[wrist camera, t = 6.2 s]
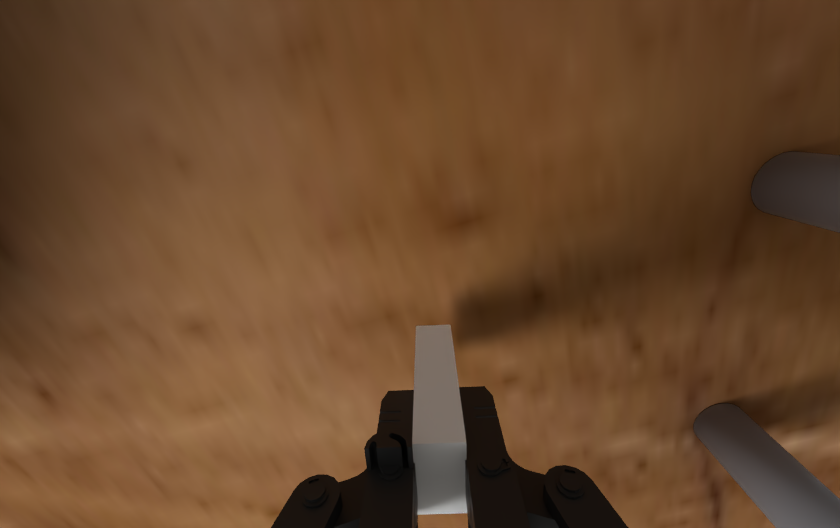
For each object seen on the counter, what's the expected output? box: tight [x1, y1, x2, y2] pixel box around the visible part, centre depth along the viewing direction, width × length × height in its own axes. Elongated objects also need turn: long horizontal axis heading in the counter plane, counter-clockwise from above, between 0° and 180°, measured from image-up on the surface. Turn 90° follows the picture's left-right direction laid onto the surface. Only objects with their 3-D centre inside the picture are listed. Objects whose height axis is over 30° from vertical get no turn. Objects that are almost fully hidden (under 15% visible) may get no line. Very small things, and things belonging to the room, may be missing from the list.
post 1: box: [694, 403, 840, 528], centre depth 17 cm, size 3×3×9 cm
